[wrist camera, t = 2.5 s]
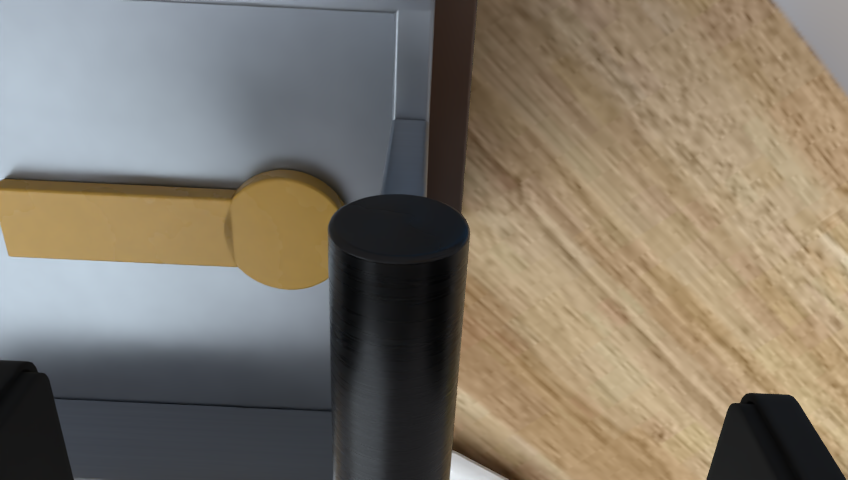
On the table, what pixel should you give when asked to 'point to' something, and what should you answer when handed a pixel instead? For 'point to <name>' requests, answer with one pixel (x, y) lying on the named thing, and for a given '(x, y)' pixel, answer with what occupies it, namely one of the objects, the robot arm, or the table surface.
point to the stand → (450, 99)
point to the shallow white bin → (229, 286)
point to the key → (178, 224)
